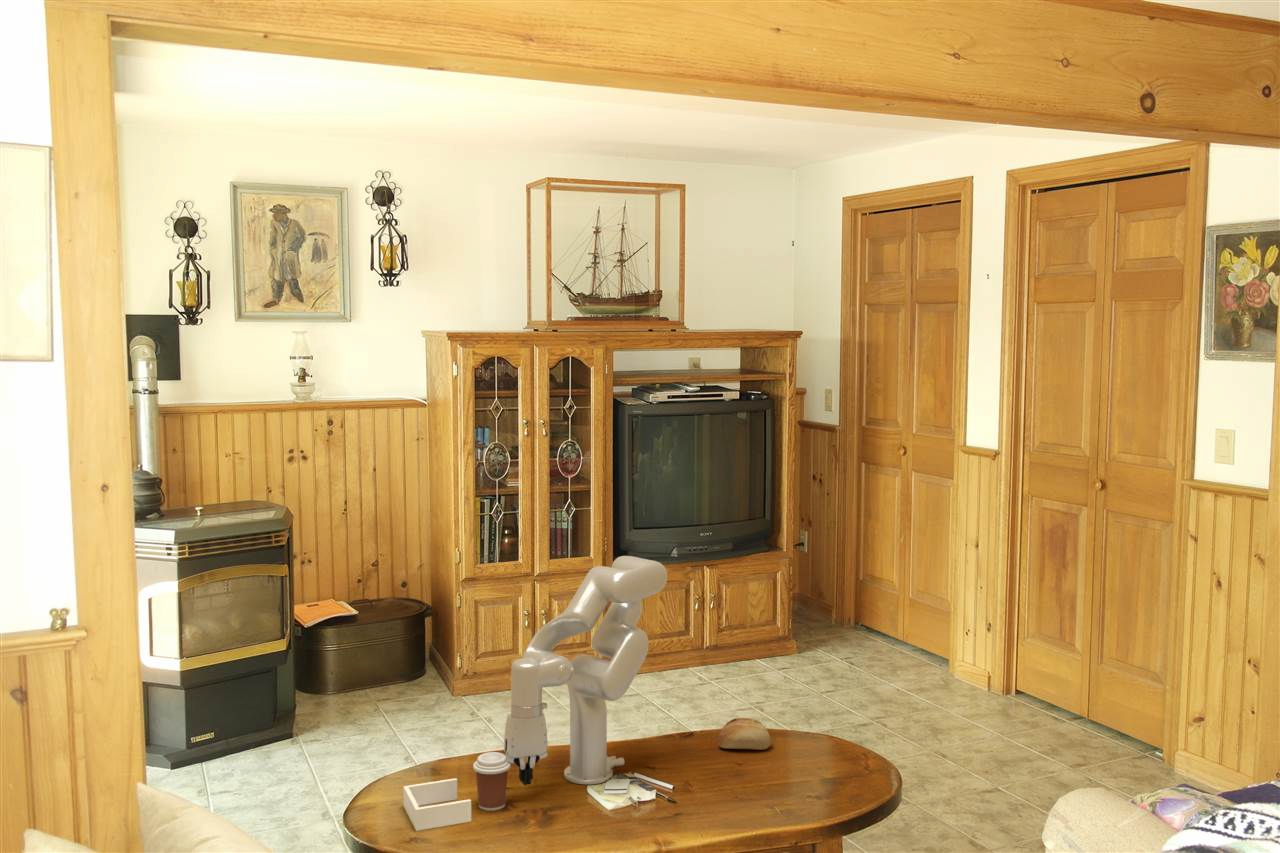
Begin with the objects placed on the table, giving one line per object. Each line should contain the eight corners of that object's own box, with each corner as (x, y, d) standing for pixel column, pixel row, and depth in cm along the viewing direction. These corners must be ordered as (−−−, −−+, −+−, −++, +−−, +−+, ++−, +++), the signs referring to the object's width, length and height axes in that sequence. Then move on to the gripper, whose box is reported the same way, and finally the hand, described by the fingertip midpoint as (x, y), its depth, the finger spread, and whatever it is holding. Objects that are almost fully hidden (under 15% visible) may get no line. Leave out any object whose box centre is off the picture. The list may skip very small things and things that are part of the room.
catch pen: (456, 797, 272) (456, 778, 272) (471, 821, 259) (471, 800, 259) (403, 806, 267) (403, 786, 267) (416, 830, 254) (415, 809, 254)
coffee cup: (496, 816, 262) (495, 767, 261) (465, 808, 267) (465, 759, 266) (518, 802, 270) (518, 754, 269) (488, 794, 275) (488, 747, 274)
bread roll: (714, 742, 311) (715, 714, 311) (767, 741, 312) (767, 713, 312) (719, 755, 302) (720, 726, 301) (773, 753, 303) (774, 725, 302)
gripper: (550, 701, 276) (549, 773, 278) (492, 708, 270) (492, 781, 272) (560, 710, 269) (559, 784, 271) (501, 718, 264) (500, 793, 265)
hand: (525, 782), depth 271 cm, fingers closed
